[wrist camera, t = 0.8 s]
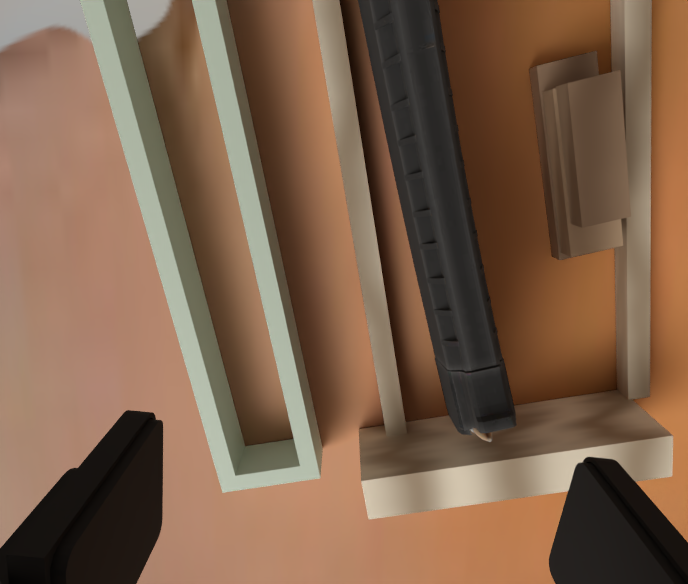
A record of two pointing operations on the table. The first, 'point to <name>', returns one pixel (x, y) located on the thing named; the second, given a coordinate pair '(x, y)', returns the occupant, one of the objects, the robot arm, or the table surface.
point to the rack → (533, 418)
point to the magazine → (438, 210)
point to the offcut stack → (581, 154)
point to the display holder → (177, 253)
